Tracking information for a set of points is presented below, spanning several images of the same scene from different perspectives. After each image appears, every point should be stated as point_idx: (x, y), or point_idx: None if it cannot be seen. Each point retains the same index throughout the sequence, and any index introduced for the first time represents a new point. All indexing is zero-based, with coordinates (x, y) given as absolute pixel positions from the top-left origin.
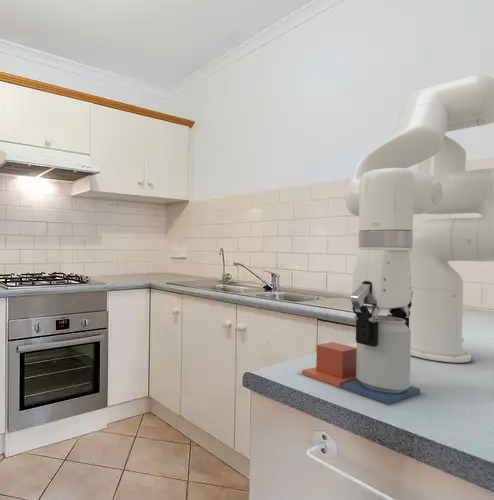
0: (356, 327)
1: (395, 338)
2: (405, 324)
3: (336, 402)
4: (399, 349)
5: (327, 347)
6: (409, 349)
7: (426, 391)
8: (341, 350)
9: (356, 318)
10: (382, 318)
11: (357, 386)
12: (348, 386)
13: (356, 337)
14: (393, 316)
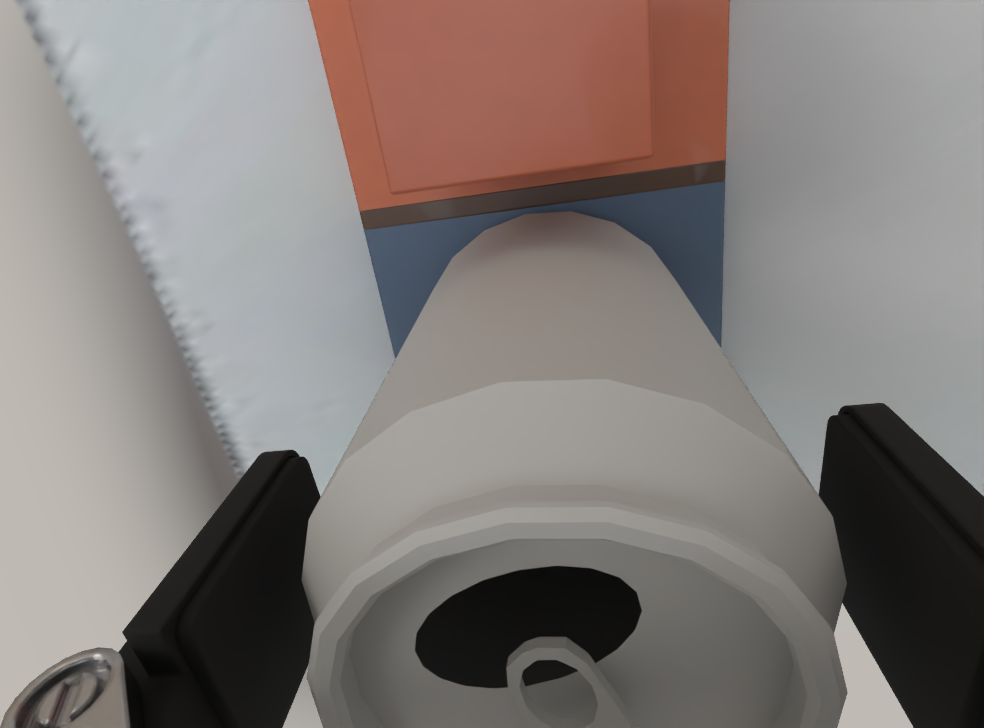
0: (187, 552)
1: (454, 680)
2: (897, 686)
3: (204, 339)
4: (495, 612)
5: (357, 23)
6: (608, 612)
7: (779, 397)
8: (405, 168)
9: (59, 685)
10: (751, 606)
11: (413, 289)
12: (373, 264)
13: (245, 479)
14: (974, 669)
